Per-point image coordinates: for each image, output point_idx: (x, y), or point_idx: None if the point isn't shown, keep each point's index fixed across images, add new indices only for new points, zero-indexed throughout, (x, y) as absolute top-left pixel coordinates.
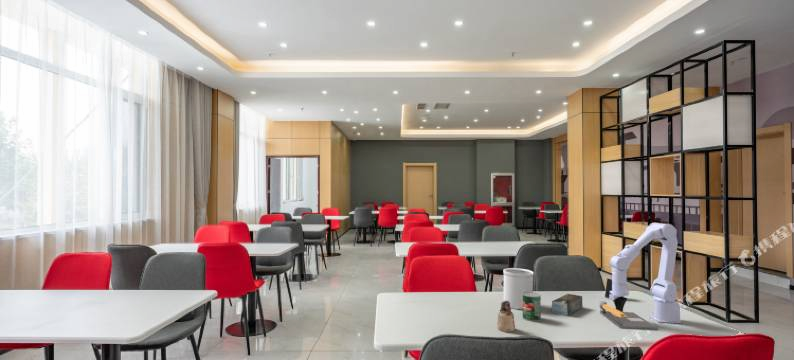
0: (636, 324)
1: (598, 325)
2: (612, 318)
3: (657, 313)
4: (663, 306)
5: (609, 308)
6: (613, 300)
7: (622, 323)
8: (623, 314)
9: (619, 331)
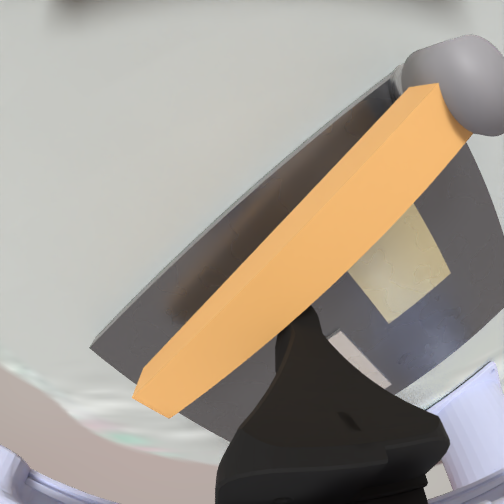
0: (225, 406)
1: (18, 215)
2: (226, 250)
3: (455, 432)
4: (454, 485)
5: (291, 232)
6: (248, 421)
7: (154, 349)
8: (161, 406)
9: (48, 344)
